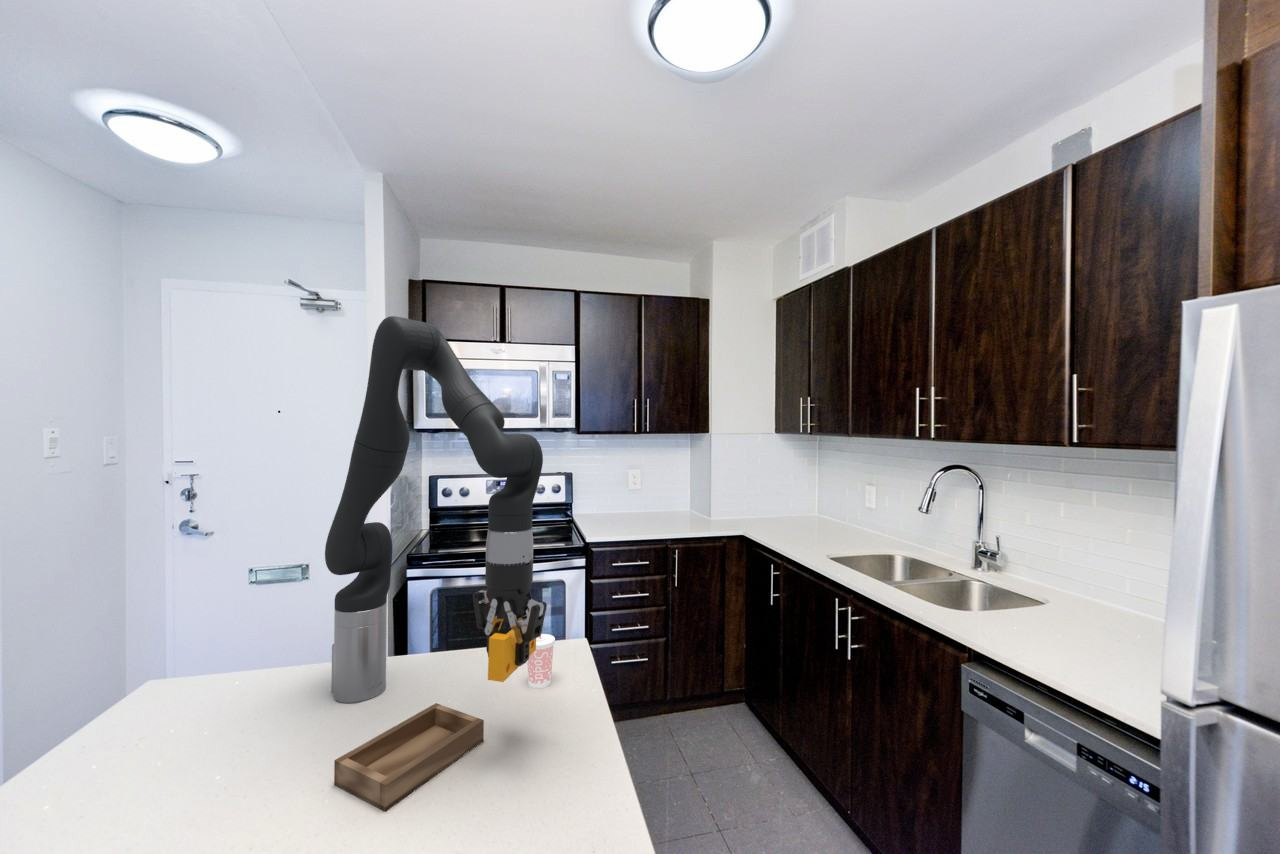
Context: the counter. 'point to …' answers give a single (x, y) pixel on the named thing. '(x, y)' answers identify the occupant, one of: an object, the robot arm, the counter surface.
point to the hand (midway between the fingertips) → (507, 659)
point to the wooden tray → (407, 755)
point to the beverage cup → (541, 662)
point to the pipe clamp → (504, 655)
